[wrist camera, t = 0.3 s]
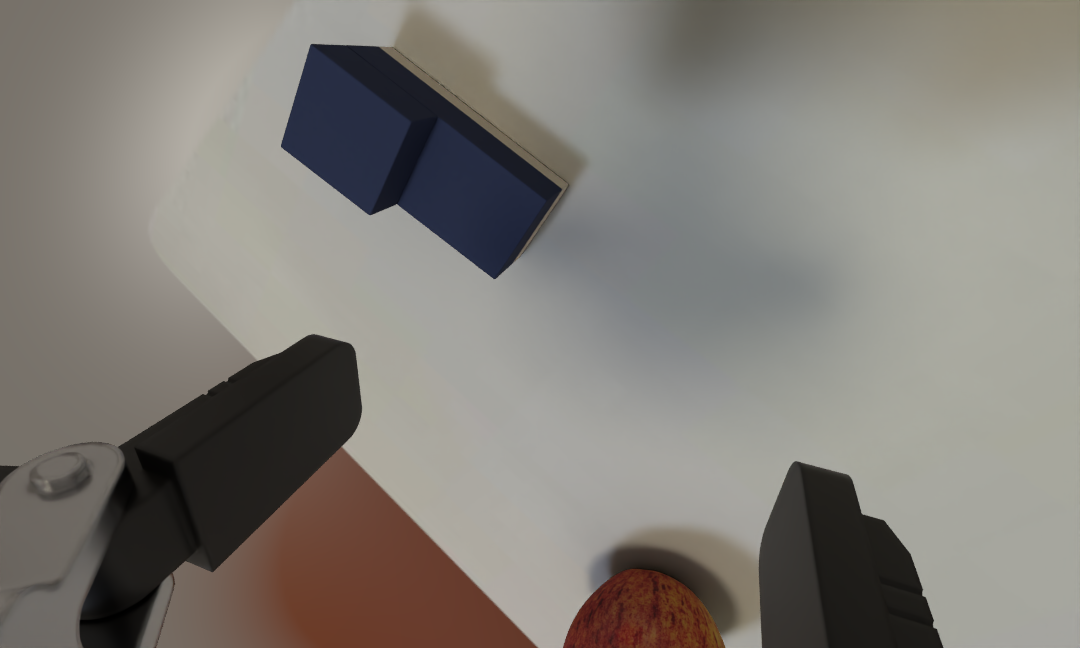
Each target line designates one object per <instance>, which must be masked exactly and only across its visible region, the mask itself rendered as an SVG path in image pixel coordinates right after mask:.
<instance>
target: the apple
mask: <svg viewBox="0 0 1080 648" xmlns="http://www.w3.org/2000/svg"><path fill="white" fill-rule="evenodd" d="M563 648H725V645H724V643H723V640H722V637H721V635H720V633H719V630H718V628H717V626H716V624H715V622H714V620H713V618H712V617H711V615H710V614H709V612H708V611H707V609H706V608H705V606H704V605H703V603H702V602H701V601H700V600H699V599H698V597H697V596H696V595H695V594H694V593H693V592H692V591H691V590H690V589H688V588H687V587H686V586H685V585H683V584H682V583H680V582H679V581H677V580H675V579H674V578H672V577H670V576H668V575H665V574H663V573H660V572H657V571H652V570H643V569H628V570H625V571H622V572H620V573H618V574H616V575H615V576H613V577H612V578H610V579H609V580H608V581H606V582H605V583H604V584H603V585H602V586H600V587H599V588H598V589H597V590H596V591H595V592H594V593H593V594H592V595H591V596H590V597H589V599H588V600H587V601H586V602H585V603H584V605H583V606H582V607H581V609H580V610H579V612H578V613H577V615H576V617H575V619H574V620H573V622H572V624H571V626H570V629H569V631H568V634H567V636H566V639H565V643H564V646H563Z"/></svg>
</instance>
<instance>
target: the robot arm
mask: <svg viewBox="0 0 1080 648" xmlns="http://www.w3.org/2000/svg"><path fill="white" fill-rule="evenodd" d="M361 413H362V403H361V395H360V386H359V378H358V369H357V360H356V353H355V350H354V348H353V346H352V345H351V344H349V343H347V342H343V341H339V340H335V339H331V338H327V337H324V336H320V335H315V334H312V335H308V336H306V337H305V338H303V339H301V340H300V341H298V342H297V343H295V344H294V345H292V346H290V347H289V348H287V349H286V350H284V351H283V352H281V353H279V354H276V355H273V356H270V357H268V358H265V359H262V360H259V361H256V362H254V363H252V364H250V365H249V366H247V367H245V368H244V369H242V370H241V371H239V372H237V373H236V374H234V375H233V376H231V377H229V378H228V381H227V382H225V381H223V382H221V383H220V384H218V385H217V386H215V387H213V388H212V389H210V390H209V391H208V394H207V395H204V394H202V395H201V396H199V397H198V398H196V399H194V400H193V401H191V402H189V403H188V404H186V405H185V406H183V407H182V408H180V409H178V410H177V411H175V412H173V413H172V414H170V415H169V416H167V417H165V418H164V419H162V420H161V421H159V422H157V423H156V424H154V425H153V426H151V427H150V428H148V429H146V430H145V431H143V432H142V433H140V434H138V435H137V436H135V437H134V438H132V439H130V440H129V441H127V442H125V443H124V444H122V445H120V446H119V447H116V446H115V445H112V444H108V443H102V442H88V443H80V444H74V445H70V446H66V447H62V448H59V449H56V450H53V451H50V452H48V453H45V454H43V455H40V456H38V457H36V458H34V459H32V460H30V461H28V462H27V463H25V464H23V465H21V466H0V648H156V646H157V643H158V640H159V637H160V633H161V630H162V627H163V623H164V620H165V617H166V613H167V610H168V607H169V603H170V600H171V596H172V593H173V590H174V585H175V583H174V576H173V573H172V572H173V571H175V570H176V569H177V568H178V567H179V566H180V565H181V564H182V563H183V562H185V561H187V562H190V563H192V564H194V565H197V566H199V567H201V568H204V569H206V570H209V571H211V572H214V571H215V570H216V569H217V567H218V566H220V565H221V564H222V563H223V562H224V561H225V560H226V559H227V558H228V557H229V556H230V555H231V554H232V553H233V552H234V551H235V550H236V549H237V548H238V547H239V546H240V545H241V544H242V543H243V542H244V541H245V540H246V539H247V538H248V537H249V536H250V535H251V534H252V533H253V532H254V531H255V530H256V529H258V528H259V527H260V525H262V524H263V523H264V522H265V521H266V520H267V519H268V518H269V517H270V516H271V515H272V514H273V513H274V512H275V511H276V510H277V509H278V508H279V507H280V506H281V505H282V504H283V503H284V502H285V501H286V500H287V499H288V498H289V497H290V496H291V495H292V494H293V493H294V492H295V491H296V490H297V489H298V488H299V487H300V486H302V485H303V484H304V482H306V481H307V480H308V479H309V478H310V477H311V476H312V475H313V474H314V473H315V472H316V471H317V470H318V469H319V468H320V467H321V466H322V465H323V464H324V463H325V462H326V461H327V460H328V459H329V458H330V457H331V456H332V455H333V454H334V453H335V452H336V451H337V450H338V449H339V448H340V447H341V446H342V445H343V444H344V443H345V442H347V441H348V440H349V439H350V437H351V436H352V435H353V434H354V432H355V430H356V429H357V426H358V424H359V422H360V418H361ZM759 586H760V609H761V633H762V648H943V645H942V643H941V640H940V637H939V634H938V631H937V629H935V628H933V621H934V620H933V617H932V614H931V611H930V608H929V606H928V603H927V600H926V597H923V596H922V591H923V588H922V586H921V583H920V580H919V577H918V574H917V571H916V568H915V566H914V563H913V560H912V557H911V554H910V553H909V552H908V550H907V549H906V548H905V547H904V545H903V544H902V543H901V541H900V540H899V539H898V538H897V536H896V535H895V534H894V533H893V531H892V530H891V529H890V527H889V526H888V525H887V524H886V522H885V521H884V520H880V519H877V518H873V517H870V516H866V515H862V513H861V509H860V506H859V502H858V498H857V495H856V491H855V488H854V484H853V481H852V479H851V477H850V476H849V475H846V474H843V473H839V472H835V471H831V470H827V469H824V468H820V467H816V466H812V465H808V464H804V463H801V462H797V461H796V462H794V463H793V464H792V465H791V467H790V468H789V470H788V473H787V475H786V478H785V480H784V483H783V485H782V488H781V490H780V492H779V495H778V497H777V500H776V502H775V505H774V507H773V510H772V512H771V515H770V517H769V520H768V522H767V525H766V527H765V530H764V533H763V537H762V542H761V547H760V555H759Z"/></svg>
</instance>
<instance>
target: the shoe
mask: <svg viewBox="0 0 1080 648" xmlns="http://www.w3.org/2000/svg"><path fill="white" fill-rule="evenodd" d="M281 147H282V148H283V149H284V150H286V151H287V152H288V153H289V154H291V155H292V156H293V157H295V158H296V159H297V160H299V161H300V162H301V163H302V164H304V165H305V166H306V167H308V168H309V169H310V170H311V171H313V172H314V173H315V174H317V175H318V176H319V177H321V178H322V179H323V180H324V181H326V182H327V183H328V184H330V185H331V186H332V187H333V188H335V189H336V190H337V191H339V192H340V193H341V194H343V195H344V196H345V197H346V198H348V199H349V200H350V201H352V202H353V203H354V204H356V205H357V206H358V207H359V208H361V209H362V210H363V211H365V212H366V213H367V214H368V215H372V214H375V213H377V212H379V211H382V210H384V209H387V208H389V207H391V206H394V205H396V204H398V205H399V206H400V207H401V208H403V209H404V210H405V211H407V212H408V213H409V214H410V215H412V216H413V217H414V218H416V219H417V220H418V221H420V222H421V223H422V224H423V225H425V226H426V227H427V228H429V229H430V230H431V231H432V232H434V233H435V234H436V235H438V236H439V237H440V238H442V239H443V240H444V241H445V242H447V243H448V244H449V245H451V246H452V247H453V248H454V249H456V250H457V251H458V252H460V253H461V254H462V255H464V256H465V257H466V258H467V259H469V260H470V261H471V262H473V263H474V264H475V265H476V266H478V267H479V268H480V269H482V270H483V271H484V272H486V273H487V274H488V275H489V276H491V277H492V278H493V279H496V278H497V277H498V276H499V275H500V274H501V273H502V272H504V271H505V270H506V269H507V268H508V267H509V266H510V265H511V264H512V263H513V262H515V261H516V260H517V259H518V258H519V257H520V256H521V255H522V253H523V252H524V250H525V249H526V247H527V246H528V244H529V243H530V241H531V240H532V239H533V237H534V236H535V234H536V233H537V231H538V230H539V228H540V227H541V225H542V224H543V222H544V221H545V219H546V218H547V216H548V215H549V213H550V212H551V211H552V209H553V208H554V206H555V205H556V203H557V202H558V200H559V199H560V197H561V196H562V194H563V193H564V191H565V190H566V188H567V187H568V184H567V183H566V182H565V181H564V180H562V179H561V178H560V177H558V176H557V175H556V174H555V173H553V172H552V171H551V170H549V169H548V168H547V167H546V166H544V165H543V164H542V163H540V162H539V161H538V160H537V159H535V158H534V157H533V156H531V155H530V154H529V153H528V152H526V151H525V150H524V149H522V148H521V147H520V146H519V145H517V144H516V143H515V142H513V141H512V140H511V139H509V138H508V137H507V136H506V135H504V134H503V133H502V132H500V131H499V130H498V129H497V128H495V127H494V126H493V125H491V124H490V123H489V122H488V121H486V120H485V119H484V118H482V117H481V116H480V115H479V114H477V113H476V112H475V111H473V110H472V109H471V108H470V107H468V106H467V105H466V104H464V103H463V102H462V101H461V100H459V99H458V98H457V97H455V96H454V95H453V94H451V93H450V92H449V91H448V90H446V89H445V88H444V87H442V86H441V85H440V84H439V83H437V82H436V81H435V80H433V79H432V78H431V77H430V76H428V75H427V74H426V73H424V72H423V71H422V70H421V69H419V68H418V67H417V66H415V65H414V64H413V63H412V62H410V61H409V60H408V59H406V58H405V57H404V56H403V55H401V54H400V53H399V52H397V51H396V50H395V49H393V48H392V47H376V46H351V45H347V46H345V45H322V44H311V45H310V49H309V52H308V55H307V59H306V62H305V66H304V69H303V72H302V76H301V79H300V83H299V86H298V89H297V93H296V96H295V100H294V103H293V106H292V110H291V113H290V117H289V120H288V123H287V127H286V130H285V134H284V137H283V140H282V144H281Z"/></svg>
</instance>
